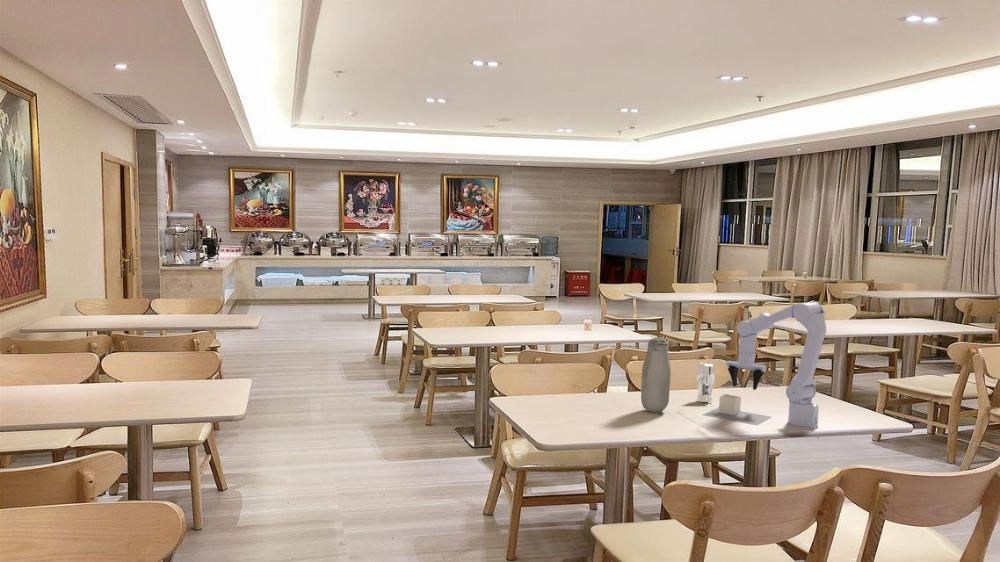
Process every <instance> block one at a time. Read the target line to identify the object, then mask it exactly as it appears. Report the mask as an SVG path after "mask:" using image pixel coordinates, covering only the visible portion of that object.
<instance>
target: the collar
mask: <svg viewBox="0 0 1000 562" xmlns="http://www.w3.org/2000/svg"><path fill="white" fill-rule="evenodd" d="M741 401H742V396H740V395H735V394H734V395H733V394H729V393H728V394H727V393H725V394H722V395H720V396H719V403H718V404H719V406H718V407H719V413H725V414H730V415H736V414H738V413H740V411H741Z"/></svg>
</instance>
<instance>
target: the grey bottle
mask: <svg viewBox="0 0 1000 562" xmlns="http://www.w3.org/2000/svg"><path fill="white" fill-rule="evenodd" d="M671 371H672V370H671V363H670V357H669V343H668V341H667V340H666V339H665V338H664V337H659V336H658V337H652V338H650V339H649V341H648V342H647V350H646V354H645V358H644V361H643V364H642V368H641V388H640V389H641V391H640V399H641V404H642V407H643V409H645V411H648V412H650V413H654V412H655V413H660V412H661V413H662V412H663V411H664V410H665V409H666V408H667V407H668V404H669V401H670V390H671V389H670V388H671V386H670V385H671V378H672V377H671V375H672V374H671V373H672V372H671Z"/></svg>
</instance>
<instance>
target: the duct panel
mask: <svg viewBox="0 0 1000 562" xmlns="http://www.w3.org/2000/svg"><path fill="white" fill-rule="evenodd" d="M702 416H706V417H712V418H717V419H721V420H727V421H732V422H738V423H743V424H748V425H752V426H759V425H760V424H761V425H762V423H764V422H766V421H768V420H769V419H772V416H770V415H765V414H764V415H763V414H759V413H753V412H747V411H742V410H740V413H738V414H736V415H730V414H725V413H719V406H718V407H717V408H714V409H712V410H710V411H708V412H705V413H704V414H702Z"/></svg>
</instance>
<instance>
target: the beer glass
mask: <svg viewBox="0 0 1000 562" xmlns="http://www.w3.org/2000/svg"><path fill="white" fill-rule="evenodd" d="M715 367H716V366H715V364H714V363H710V362H709V363H708V362H707V363H706V362H699V363H697V368H696V369H697V370H696V384H697V385H696V386H697V397H696V402H697V401H700V402H699V403H701V402H711V401H712V402H713V396H712V392H713V387H714V384H715V377H716V368H715Z"/></svg>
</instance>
